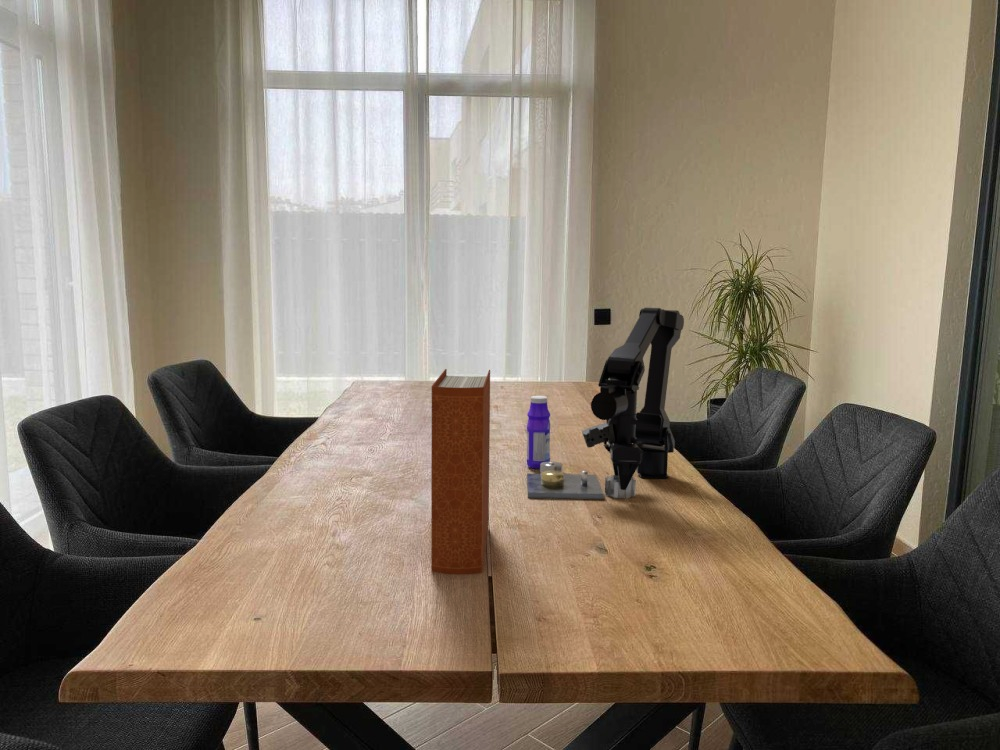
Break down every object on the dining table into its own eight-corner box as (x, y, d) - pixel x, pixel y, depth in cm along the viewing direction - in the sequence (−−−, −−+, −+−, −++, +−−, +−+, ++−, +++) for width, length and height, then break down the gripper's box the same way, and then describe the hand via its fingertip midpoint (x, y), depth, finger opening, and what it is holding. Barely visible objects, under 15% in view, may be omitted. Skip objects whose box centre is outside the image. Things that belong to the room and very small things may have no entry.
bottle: (547, 470, 193) (548, 399, 191) (524, 469, 194) (525, 398, 192) (551, 463, 200) (552, 394, 198) (529, 462, 201) (529, 393, 199)
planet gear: (632, 490, 176) (632, 475, 176) (636, 498, 170) (637, 482, 169) (603, 490, 176) (604, 474, 176) (606, 498, 170) (607, 482, 170)
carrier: (595, 479, 185) (596, 460, 184) (603, 499, 169) (604, 478, 169) (526, 478, 185) (527, 459, 185) (528, 498, 169) (528, 477, 169)
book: (444, 527, 149) (445, 368, 145) (488, 528, 149) (490, 369, 145) (430, 574, 127) (430, 387, 123) (481, 575, 126) (483, 388, 123)
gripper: (581, 405, 180) (579, 472, 182) (589, 420, 162) (587, 495, 164) (630, 405, 180) (628, 473, 182) (644, 421, 162) (641, 496, 164)
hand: (620, 483), depth 173 cm, fingers open, 9 cm apart
